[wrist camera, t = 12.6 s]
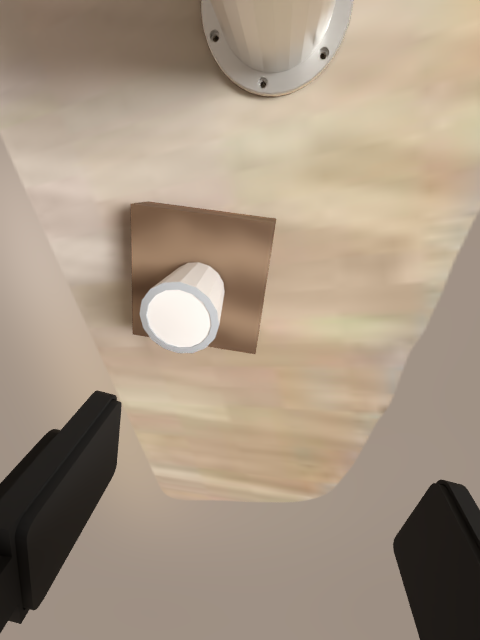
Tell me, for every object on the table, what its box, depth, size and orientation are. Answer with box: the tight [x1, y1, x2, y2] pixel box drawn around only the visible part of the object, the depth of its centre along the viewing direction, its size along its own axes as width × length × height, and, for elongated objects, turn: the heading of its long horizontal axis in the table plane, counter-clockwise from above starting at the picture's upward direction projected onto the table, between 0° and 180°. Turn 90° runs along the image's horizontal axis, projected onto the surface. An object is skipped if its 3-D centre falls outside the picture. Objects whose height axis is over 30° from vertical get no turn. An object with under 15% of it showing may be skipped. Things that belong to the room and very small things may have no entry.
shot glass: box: [140, 262, 225, 353], centre depth 30 cm, size 7×7×7 cm
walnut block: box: [131, 202, 276, 354], centre depth 36 cm, size 14×14×5 cm
